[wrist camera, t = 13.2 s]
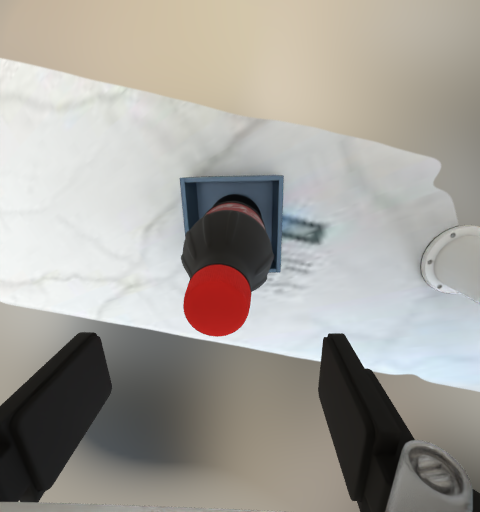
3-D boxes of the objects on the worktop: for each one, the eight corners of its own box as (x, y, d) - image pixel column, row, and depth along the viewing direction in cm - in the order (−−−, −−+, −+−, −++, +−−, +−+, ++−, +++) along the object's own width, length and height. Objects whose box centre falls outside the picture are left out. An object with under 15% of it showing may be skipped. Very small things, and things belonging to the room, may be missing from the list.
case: (276, 174, 40) (283, 175, 32) (274, 254, 45) (280, 272, 37) (192, 176, 41) (179, 178, 33) (199, 255, 45) (188, 273, 37)
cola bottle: (238, 181, 40) (219, 204, 12) (271, 220, 42) (321, 320, 14) (201, 215, 42) (108, 304, 14) (233, 251, 44) (211, 394, 16)
